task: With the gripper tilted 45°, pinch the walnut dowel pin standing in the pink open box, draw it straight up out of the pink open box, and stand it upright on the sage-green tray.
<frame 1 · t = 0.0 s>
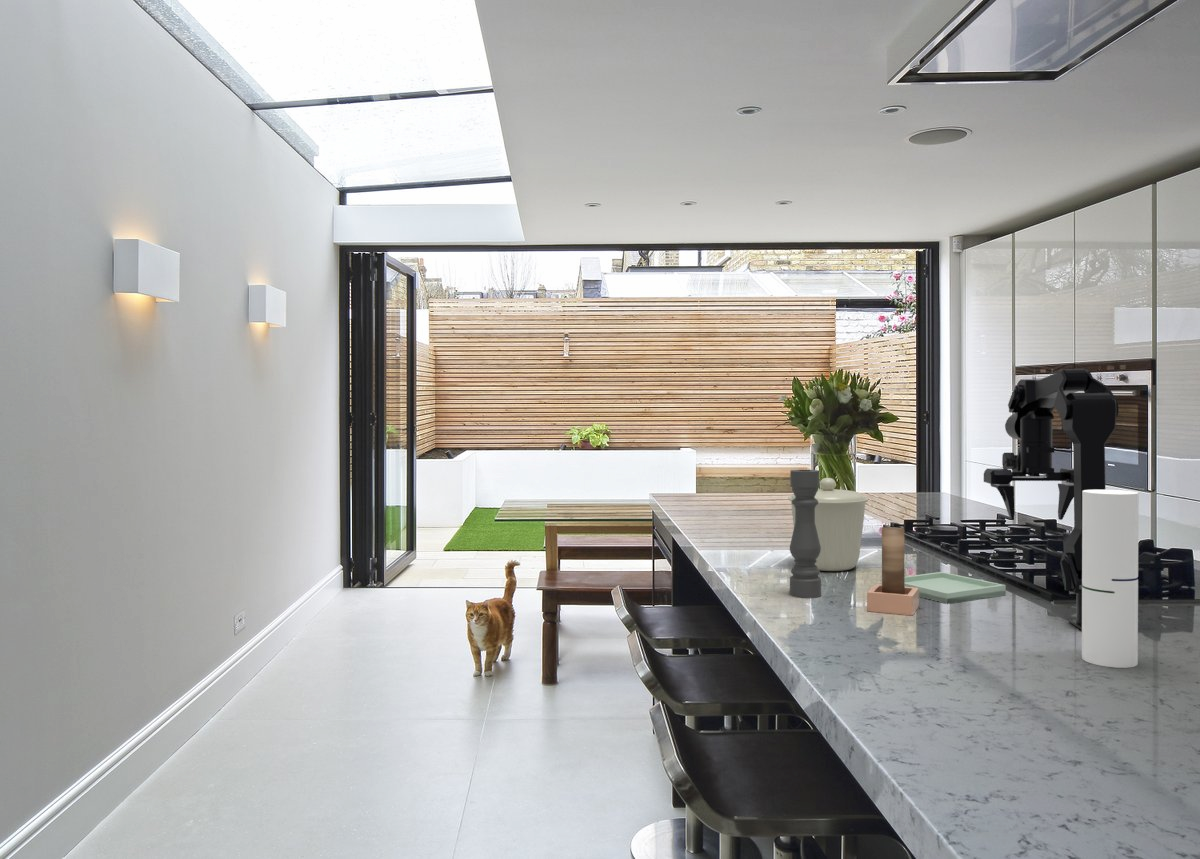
hand: (1036, 519, 176), 15 cm above the kitchen island, tool pointing down, fingers open, 9 cm apart
cylindrical container: (1109, 661, 130), on the kitchen island
dowel pin: (893, 568, 164), in the pink open box
tray: (944, 591, 178), on the kitchen island
pink open box: (893, 608, 164), on the kitchen island
canister: (828, 568, 205), on the kitchen island
candle holder: (805, 595, 177), on the kitchen island
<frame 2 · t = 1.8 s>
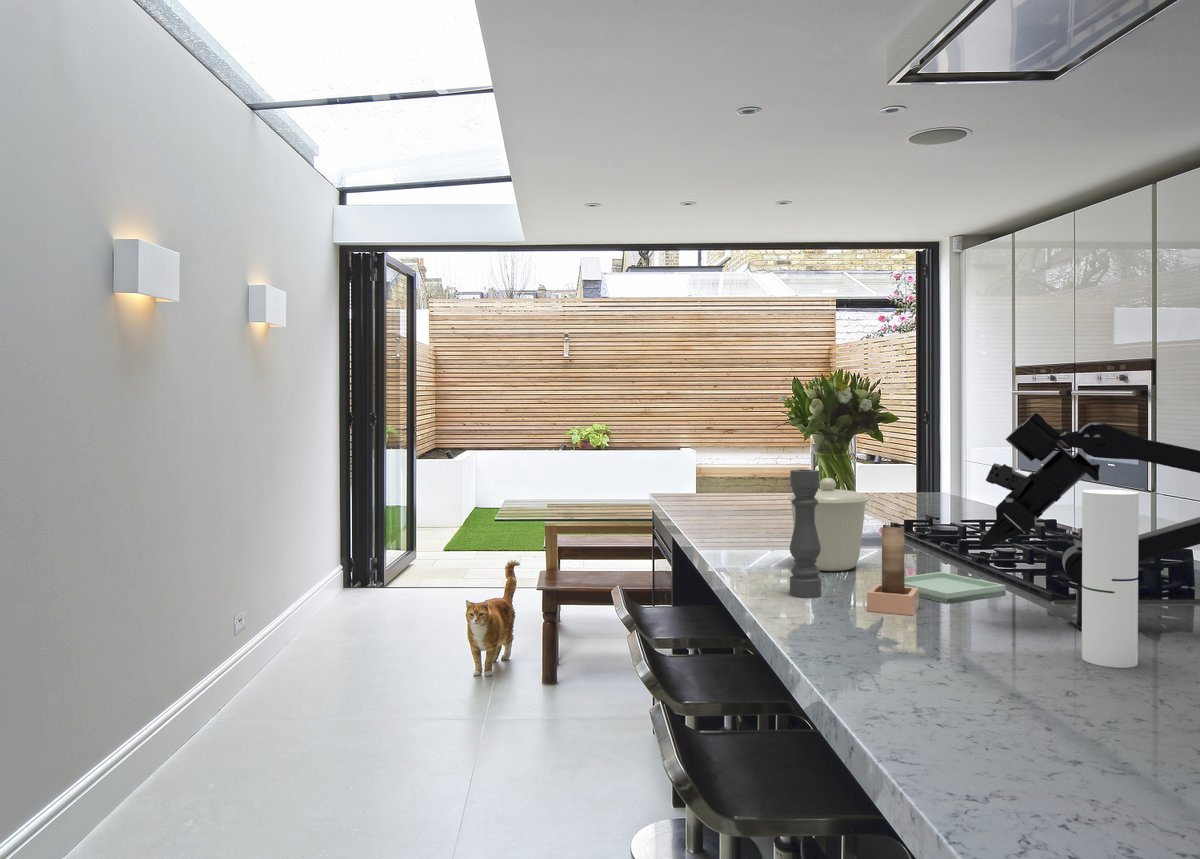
hand: (984, 541, 157), 13 cm above the kitchen island, tool tilted 45°, fingers open, 9 cm apart
nothing on the kitchen island moved.
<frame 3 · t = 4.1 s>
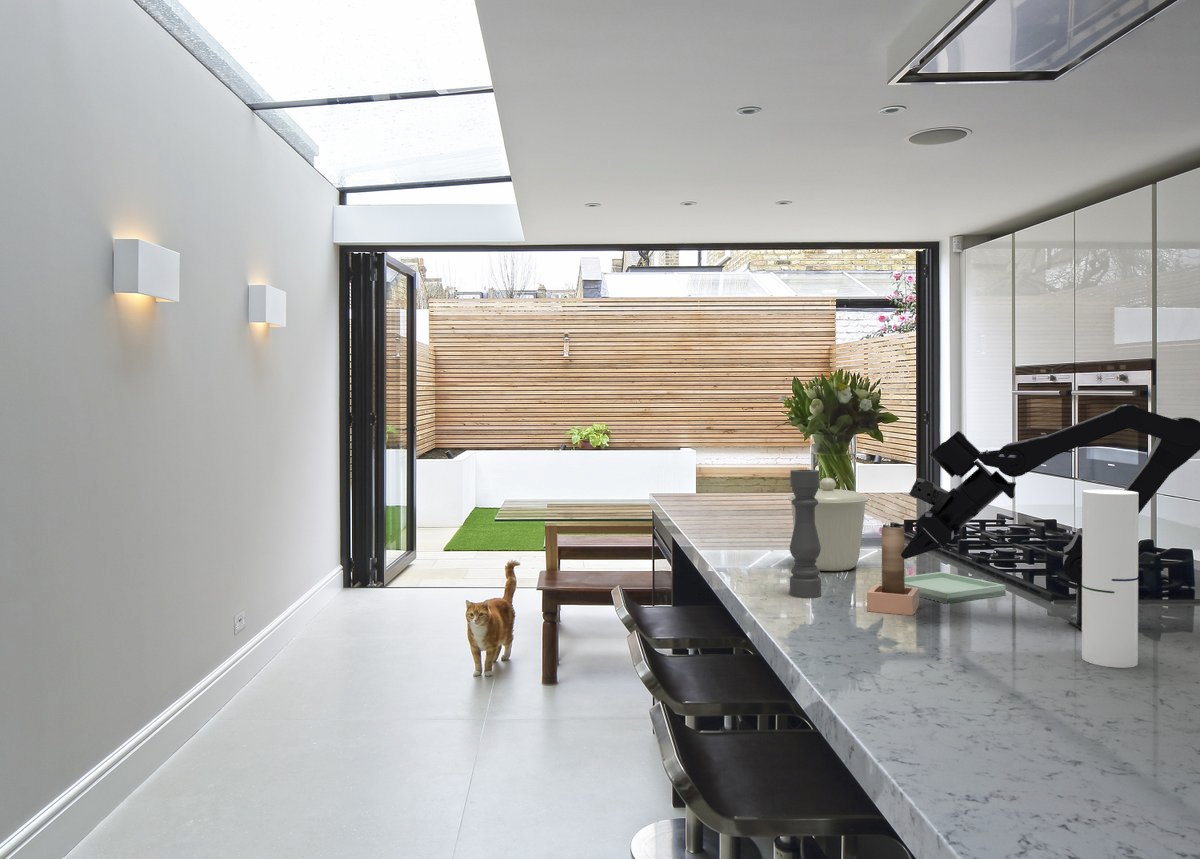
hand: (906, 553, 163), 11 cm above the kitchen island, tool tilted 45°, fingers open, 9 cm apart
nothing on the kitchen island moved.
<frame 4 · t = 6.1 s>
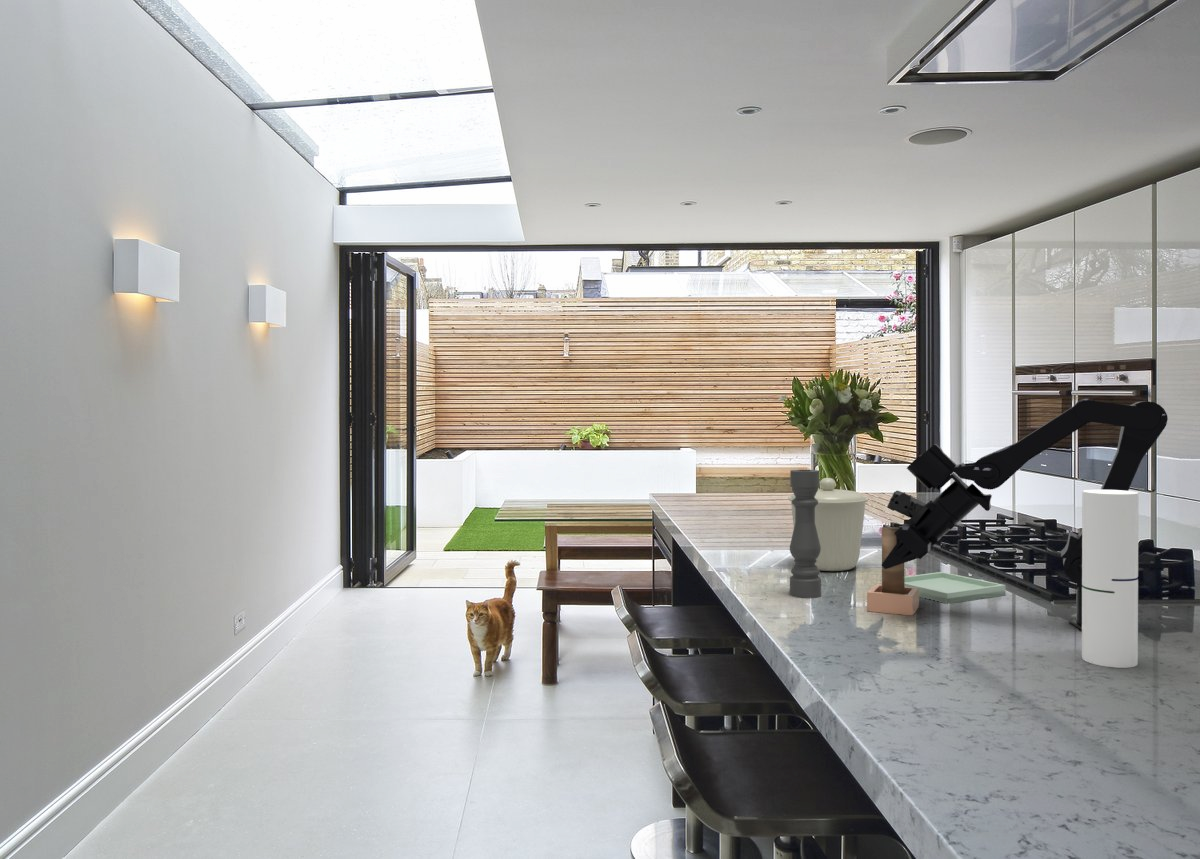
hand: (885, 565, 164), 8 cm above the kitchen island, tool tilted 45°, fingers closed on dowel pin, 4 cm apart
dowel pin: (893, 568, 164), in the pink open box, touching gripper
everything else where it was.
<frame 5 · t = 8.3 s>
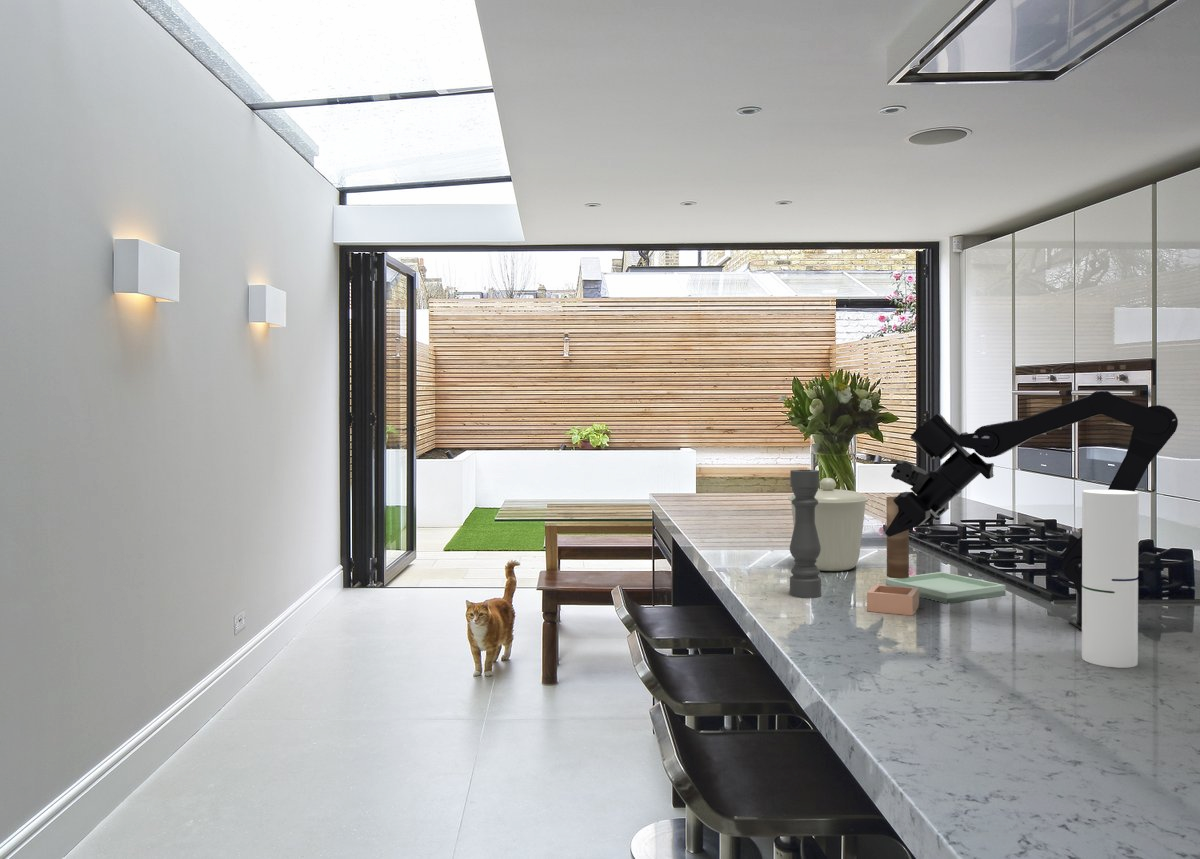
hand: (890, 533, 167), 14 cm above the kitchen island, tool tilted 45°, fingers closed on dowel pin, 4 cm apart
dowel pin: (897, 537, 167), point 13 cm above the kitchen island, touching gripper
everything else where it was.
when the fingers open (11 cm above the kitchen island, at t = 10.9 s): dowel pin drops 1 cm, resting on tray.
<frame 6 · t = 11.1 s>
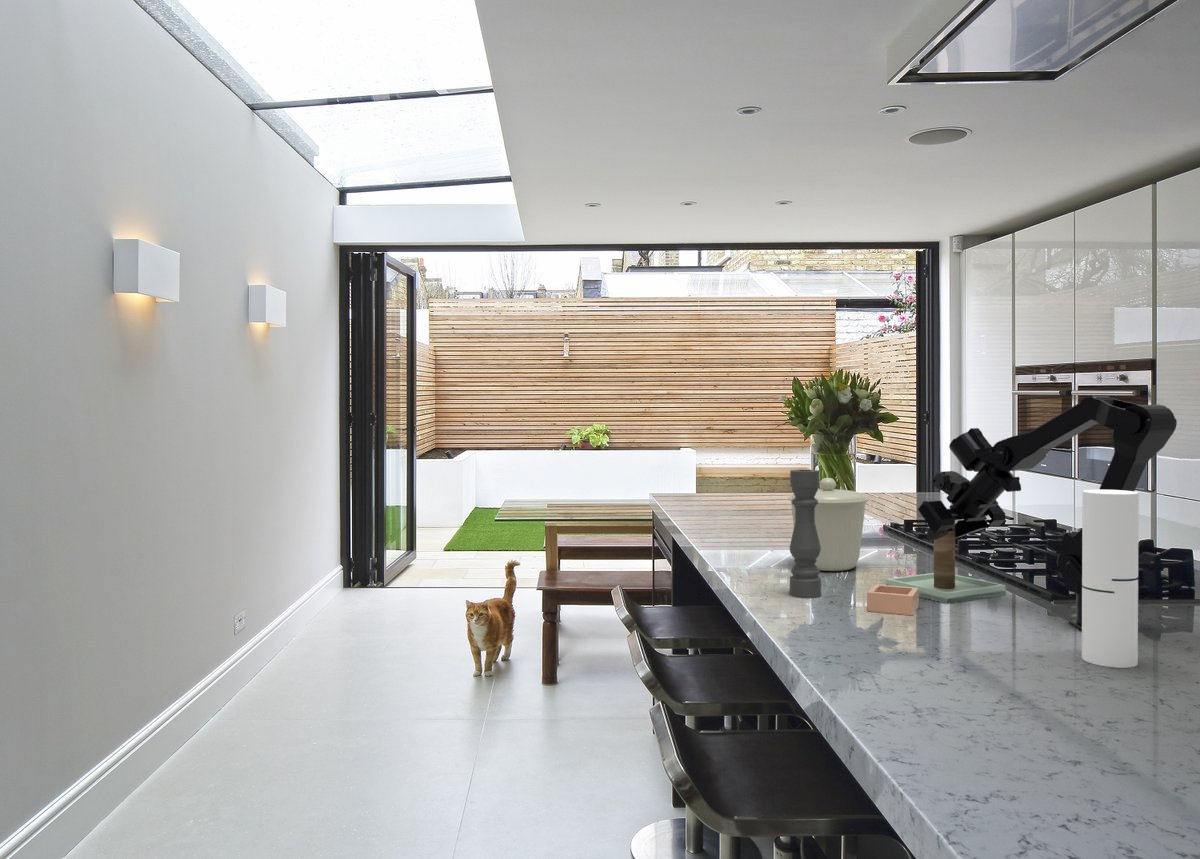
hand: (938, 539, 179), 11 cm above the kitchen island, tool tilted 45°, fingers open, 6 cm apart
dowel pin: (944, 550, 178), in the tray, point 8 cm above the kitchen island
everything else where it was.
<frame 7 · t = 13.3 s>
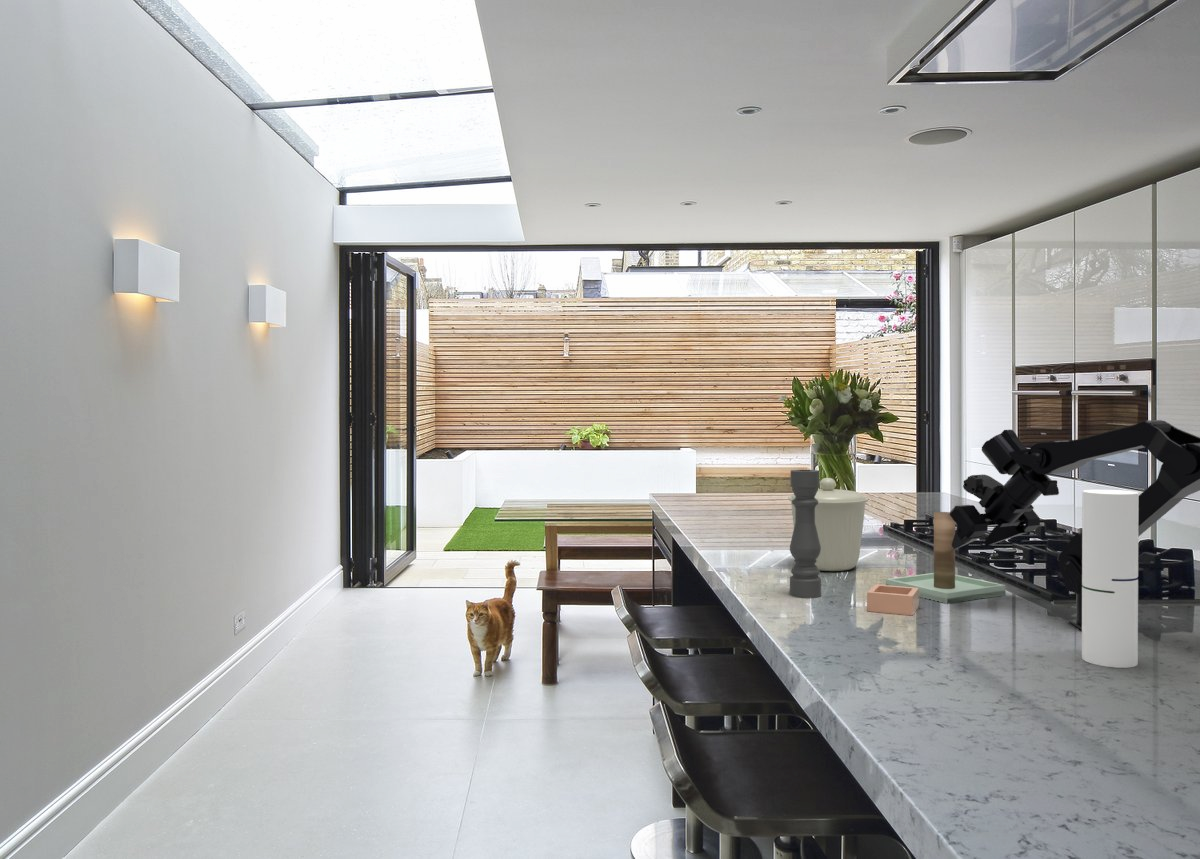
hand: (970, 545, 172), 10 cm above the kitchen island, tool tilted 45°, fingers open, 9 cm apart
nothing on the kitchen island moved.
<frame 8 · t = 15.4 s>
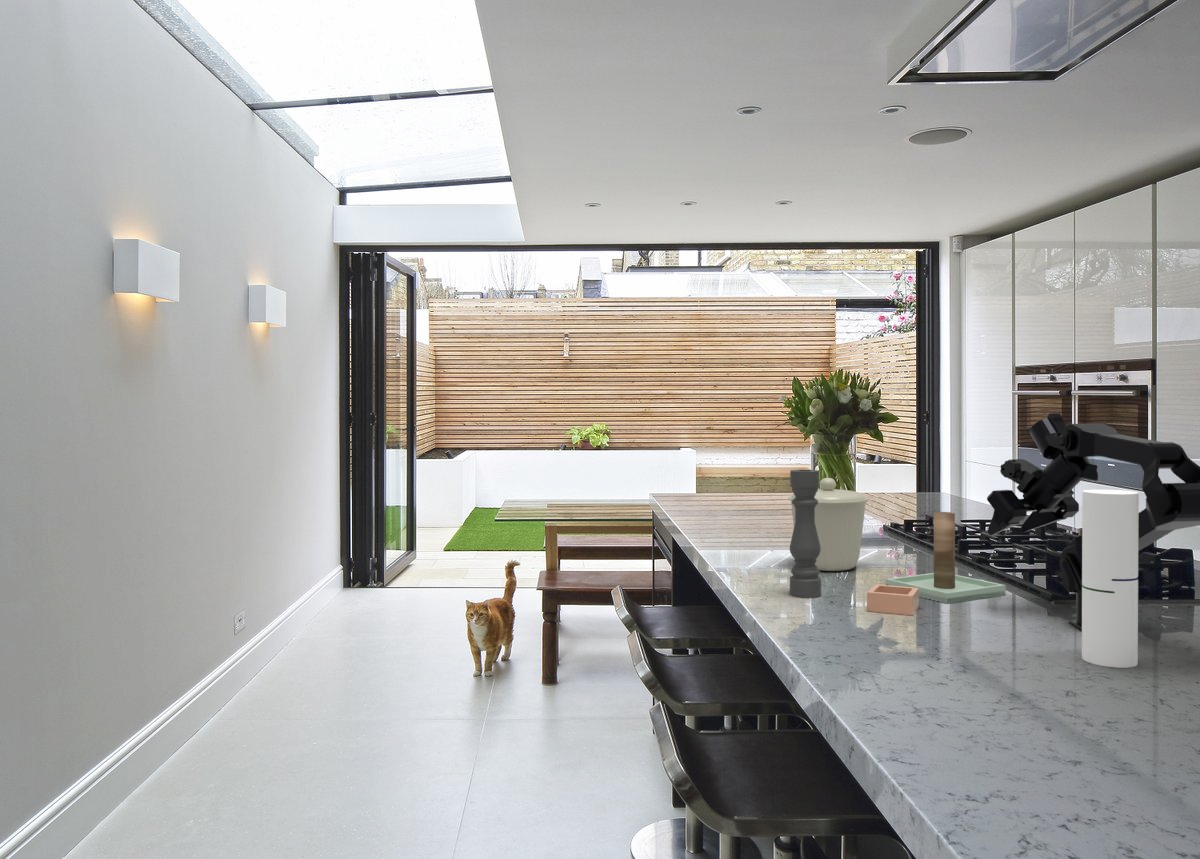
hand: (1006, 531, 168), 14 cm above the kitchen island, tool tilted 45°, fingers open, 9 cm apart
nothing on the kitchen island moved.
at the end: dowel pin inside the target area on the tray (0.0 cm from its centre), point 8.5 cm above the tray's base; dowel pin tilted 0°; the gripper is holding nothing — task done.
